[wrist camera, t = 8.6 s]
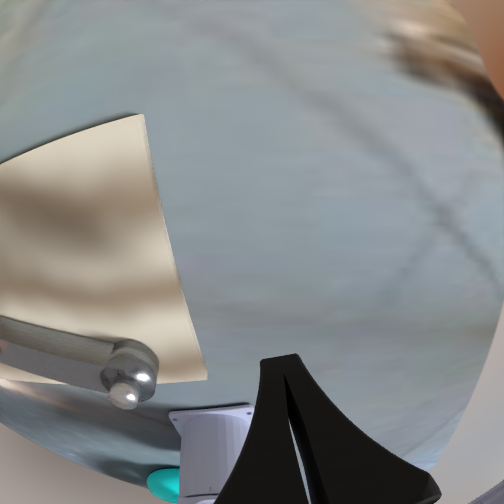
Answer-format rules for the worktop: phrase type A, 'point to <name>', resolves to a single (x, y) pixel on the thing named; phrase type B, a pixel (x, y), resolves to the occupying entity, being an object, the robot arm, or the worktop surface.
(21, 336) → the link
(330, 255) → the worktop surface
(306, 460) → the robot arm
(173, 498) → the donuts
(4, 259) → the hinge board
